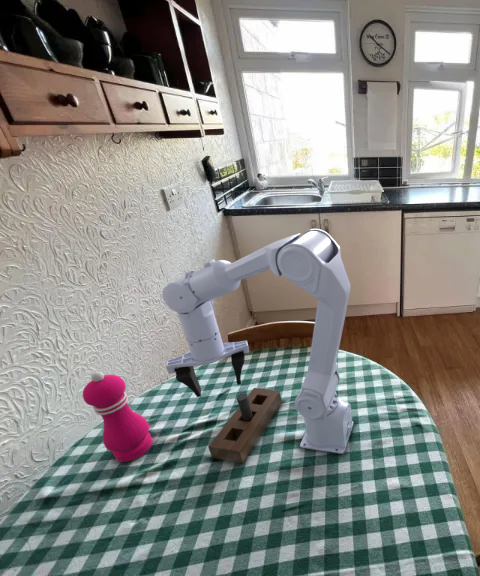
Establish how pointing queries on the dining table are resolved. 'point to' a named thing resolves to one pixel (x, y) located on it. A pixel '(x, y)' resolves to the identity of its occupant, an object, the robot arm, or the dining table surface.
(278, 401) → the holder
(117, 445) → the pepper mill
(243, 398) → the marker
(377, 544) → the dining table surface
